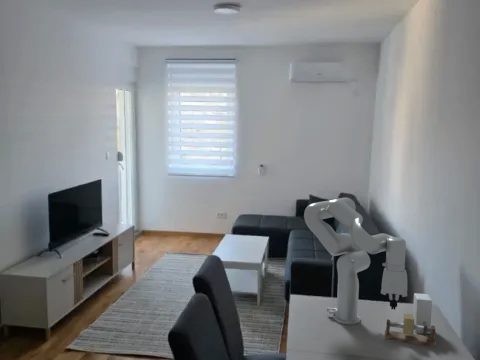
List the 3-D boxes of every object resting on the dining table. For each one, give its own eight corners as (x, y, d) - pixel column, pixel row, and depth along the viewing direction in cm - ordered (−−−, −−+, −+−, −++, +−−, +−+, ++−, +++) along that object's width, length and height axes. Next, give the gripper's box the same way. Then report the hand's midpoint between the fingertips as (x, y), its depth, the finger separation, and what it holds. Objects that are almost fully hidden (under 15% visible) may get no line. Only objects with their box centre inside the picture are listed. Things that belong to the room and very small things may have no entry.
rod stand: (385, 339, 191) (386, 321, 190) (384, 333, 197) (386, 315, 196) (435, 347, 186) (437, 328, 185) (433, 340, 192) (435, 322, 190)
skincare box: (430, 334, 197) (433, 301, 194) (414, 333, 198) (417, 299, 196) (426, 326, 205) (429, 293, 203) (411, 324, 206) (413, 292, 204)
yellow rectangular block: (403, 333, 189) (404, 318, 188) (402, 328, 194) (403, 313, 193) (413, 335, 188) (414, 319, 187) (412, 330, 193) (413, 314, 192)
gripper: (376, 267, 188) (375, 309, 190) (414, 271, 183) (412, 313, 186) (376, 262, 195) (375, 302, 197) (413, 265, 191) (411, 306, 193)
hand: (393, 308), depth 191 cm, fingers closed
